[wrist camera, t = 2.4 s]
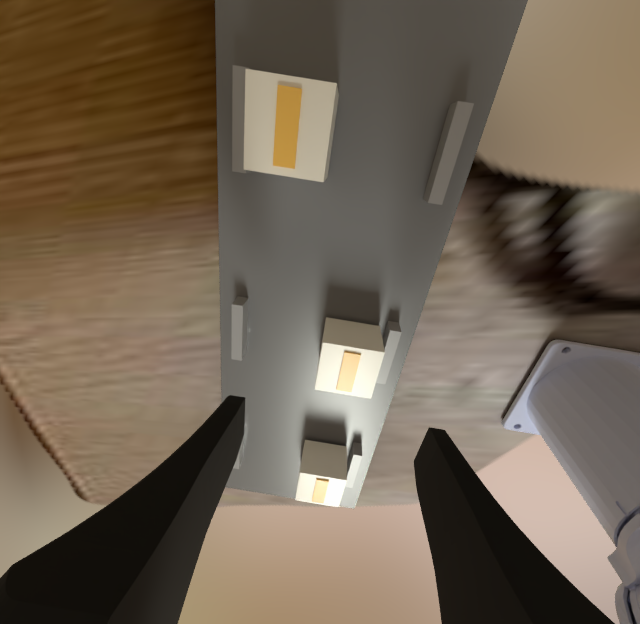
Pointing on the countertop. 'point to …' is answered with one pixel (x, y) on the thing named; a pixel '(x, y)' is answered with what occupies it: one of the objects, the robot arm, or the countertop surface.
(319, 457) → the switch
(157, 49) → the countertop surface
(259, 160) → the switch
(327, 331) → the switch mid
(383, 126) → the power strip
